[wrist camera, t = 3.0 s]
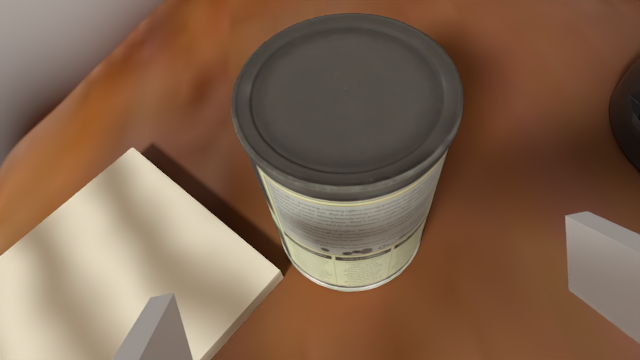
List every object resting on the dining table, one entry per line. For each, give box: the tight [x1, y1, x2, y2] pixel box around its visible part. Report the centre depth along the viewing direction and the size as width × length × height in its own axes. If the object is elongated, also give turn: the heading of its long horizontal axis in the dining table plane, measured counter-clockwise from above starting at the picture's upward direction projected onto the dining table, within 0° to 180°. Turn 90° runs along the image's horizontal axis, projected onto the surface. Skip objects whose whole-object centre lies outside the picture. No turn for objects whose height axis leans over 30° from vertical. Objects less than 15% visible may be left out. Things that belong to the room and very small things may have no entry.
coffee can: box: [231, 13, 464, 292], centre depth 26 cm, size 10×10×14 cm
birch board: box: [0, 147, 283, 360], centre depth 29 cm, size 20×16×2 cm
